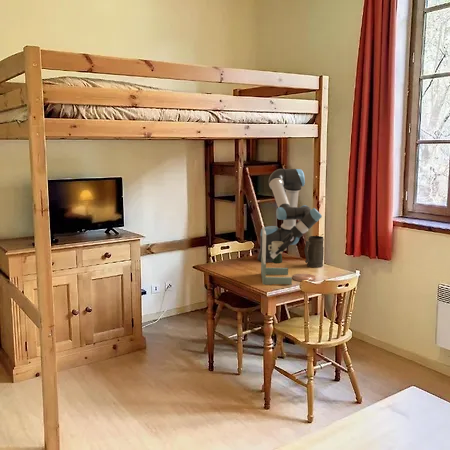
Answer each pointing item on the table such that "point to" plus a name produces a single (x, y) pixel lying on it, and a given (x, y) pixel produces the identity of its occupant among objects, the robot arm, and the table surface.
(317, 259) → the beer stein
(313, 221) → the robot arm
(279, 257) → the character mug
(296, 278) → the terracotta saucer
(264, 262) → the grey-green stand
